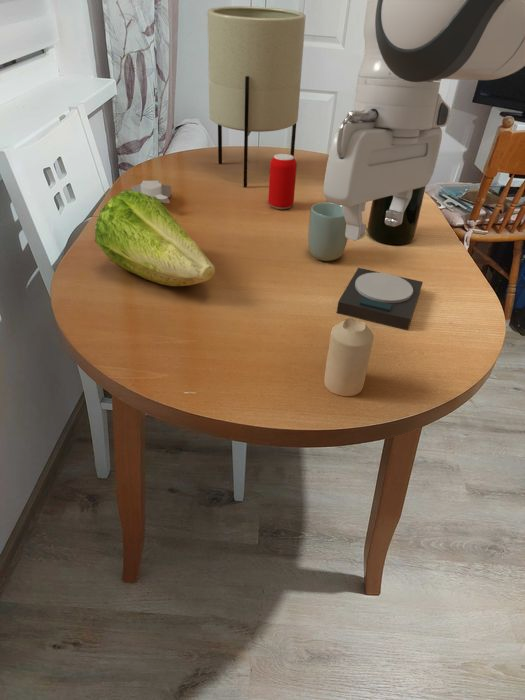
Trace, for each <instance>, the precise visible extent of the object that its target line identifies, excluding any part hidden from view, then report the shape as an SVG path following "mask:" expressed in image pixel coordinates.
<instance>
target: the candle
mask: <svg viewBox="0 0 525 700" xmlns="http://www.w3.org/2000/svg"><path fill="white" fill-rule="evenodd" d="M374 337H375V336H374V333H373V330H371V328H369V326H368V325H367V323H366V322H365V321H360V320H359V321H357V320H355V319H354V318H353V317H347V318H345V319H344V320H342V321H340V322H338V323H337V324H335V325H334V326H333V327H332V328H331V331H330V337H329V344H328V349H327V350H328V351H327V358H326V363H325V368H324V369H325V370H324V377H323V383H324V386H325V388H326V389H327V390H328V391H329V392H331V393H332V394H334V395H337V396H341V397H354V396H356V395H359V393H361V392H362V390H363V388H364V384H365V380H366V376H367V373H368V371H367V370H368V367H369V362H370V357H371V353H372V348H373V342H374V339H375V338H374Z"/></svg>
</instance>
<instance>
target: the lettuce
mask: <svg viewBox="0 0 525 700" xmlns="http://www.w3.org/2000/svg"><path fill="white" fill-rule="evenodd" d="M97 217H98V218H97V220H96V222H95V227H94V229H95V230H94V242H95V243H96V244H97V246H98V247H99V248H100V249H101V251H102V252H103V253H104V254H105V255H106V257H107V258H108V259H109V260H110V261H111V262H113V263H114V265H116V266H118V268H121V269H122V270H125V271H127V272H129V273H131V274H134V275H135V276H136V275H137V276H139V277H140V278H143V279H145V280H147V281H150V282H153V283H155V284H159V285H164V286H169V287H184V286H191V285H196V284H200V283H205V282H208V281H209V280H211V279H212V278H213V276H214V274H215V266H214V264H213V263H212V261H210V260H209V258H208V257H207V255H206V253H204V252H203V250H202V249H201V248H200V246H199V245H198V244H197V242H195V241H194V240H193V238H191V237H190V236H189V235H188V233H187V232H186V231H185V229H184V228H183V227H182V226H181V225H180V223H179V222H178V221H177V220H176V219H175V218H173V216H172V215H171V213H170V212H169V210H168V208H167V207H166V206H165V205H164V203H163V204H162V203H161V202H160V201H159V200H158V199H156V198H153V197H151V196H149V195H146V194H143V193H141V192H137V191H131V189H130V190H129V189H125V190H123V191H121V192H119V193H118V194H116V195H114V196H113V197H111V198H110V200H108V202H107V203H106V204H105V205H104V206H103V207H102V208H101V209H100V211H99V214H98V216H97Z"/></svg>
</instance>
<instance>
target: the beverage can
mask: <svg viewBox="0 0 525 700" xmlns="http://www.w3.org/2000/svg"><path fill="white" fill-rule="evenodd" d="M297 167H298V163H297V161H296V158H295V156H294V157H293V156H292V155H290V154H289V153H277V154H275V155H273V157H272V158H271V160H270V163H269V177H268V179H269V180H268V196H267V197H268V198H267V201H268V204H269V206H270V207H272V208H273V209H276V210H281V211H282V210H287V209H289V208H292V207H293V206H294V202H295V191H296V190H295V189H296V180H297V179H296V178H297Z"/></svg>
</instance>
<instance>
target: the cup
mask: <svg viewBox="0 0 525 700" xmlns="http://www.w3.org/2000/svg"><path fill="white" fill-rule="evenodd" d="M342 207H343V205H339V204H334V203H331V202H328V201H323V202H318V203H314V204H313V205H311V207H310V210H309V211H310V212H309V219H308V229H307V230H308V232H307V245H308V250H309V253H310V254H311V256H313V257H314V258H315V259H317V260H319V261H321V262H331V261H335V260H338V259H339V258H340V257H341V256H342V255H343V254H344V252H345V250H346V247H347V243H348V239H347V238H346V237H345V231H346V221H345V218H344V214H343V211H342Z"/></svg>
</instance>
